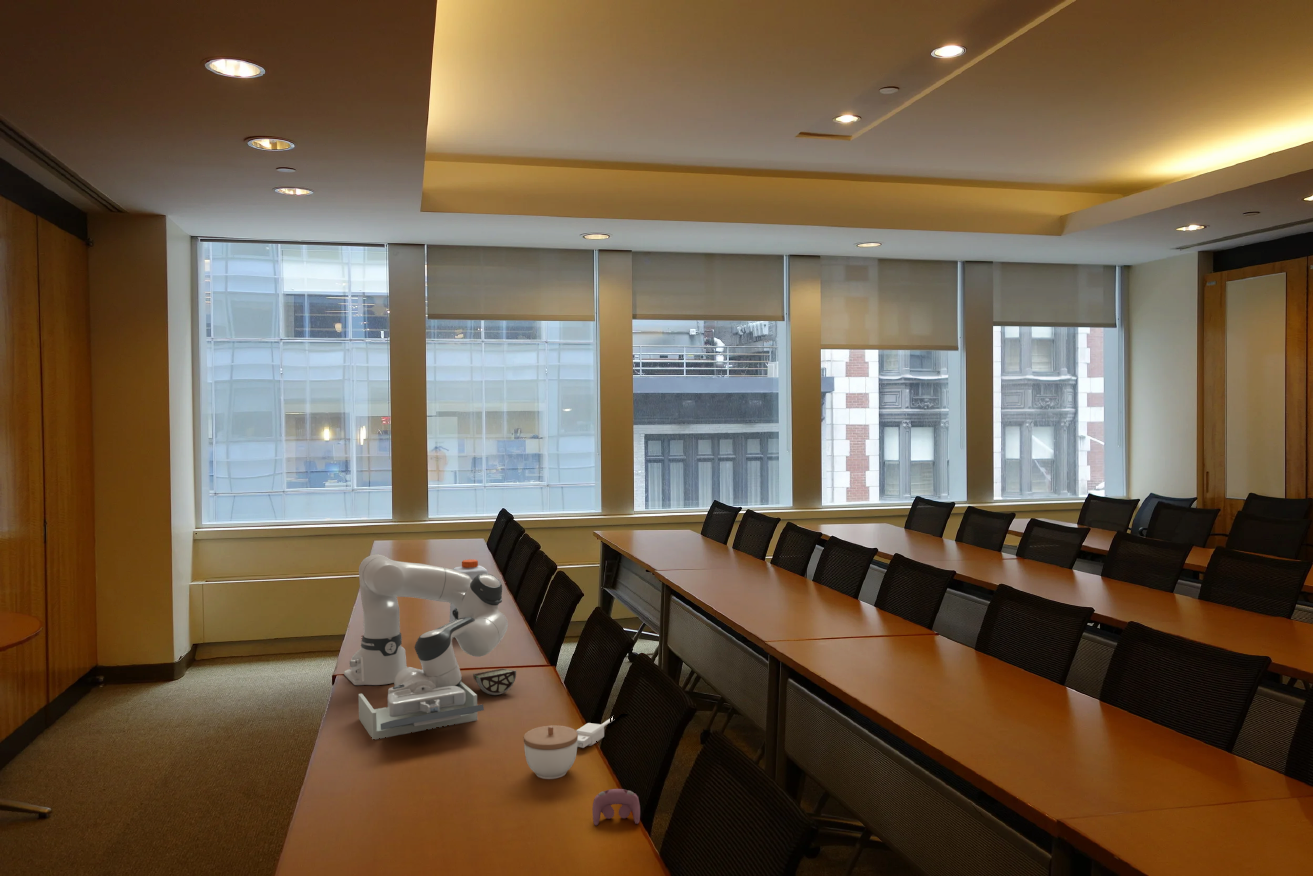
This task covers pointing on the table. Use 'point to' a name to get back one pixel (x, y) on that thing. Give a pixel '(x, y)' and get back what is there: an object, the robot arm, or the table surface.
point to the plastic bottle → (471, 570)
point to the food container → (495, 681)
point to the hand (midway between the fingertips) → (434, 709)
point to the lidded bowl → (550, 750)
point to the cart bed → (378, 716)
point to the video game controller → (616, 797)
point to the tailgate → (432, 717)
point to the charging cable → (591, 733)
